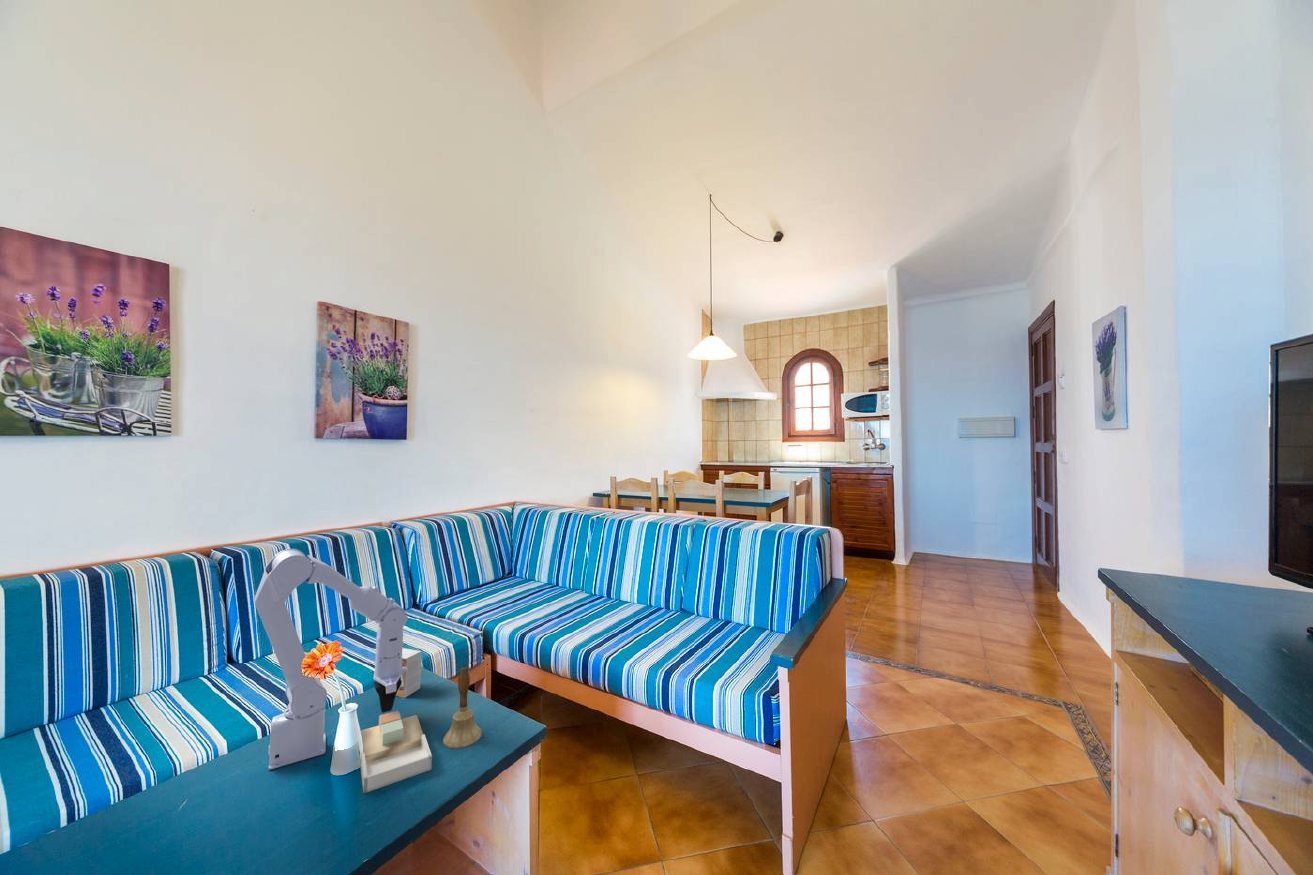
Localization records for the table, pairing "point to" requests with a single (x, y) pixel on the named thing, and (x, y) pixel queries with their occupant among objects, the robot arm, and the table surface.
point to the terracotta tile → (388, 718)
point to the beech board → (410, 741)
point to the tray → (395, 767)
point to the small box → (410, 672)
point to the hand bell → (462, 719)
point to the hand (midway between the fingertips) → (386, 710)
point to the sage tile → (391, 732)
